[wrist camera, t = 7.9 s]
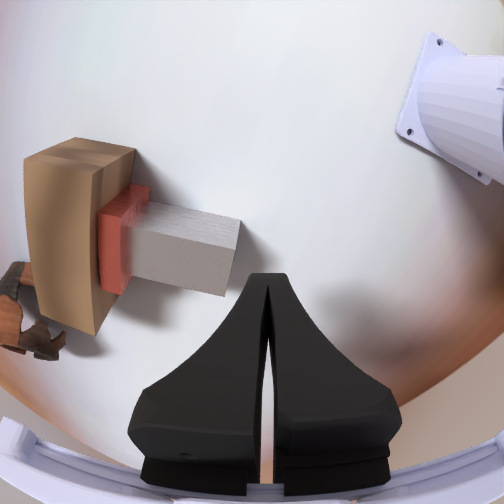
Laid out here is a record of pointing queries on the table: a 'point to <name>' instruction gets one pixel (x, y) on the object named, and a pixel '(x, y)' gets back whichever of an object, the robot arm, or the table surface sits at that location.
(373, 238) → the table surface
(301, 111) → the table surface
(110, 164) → the walnut block
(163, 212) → the grey and red block
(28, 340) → the brown ringed sculpture
